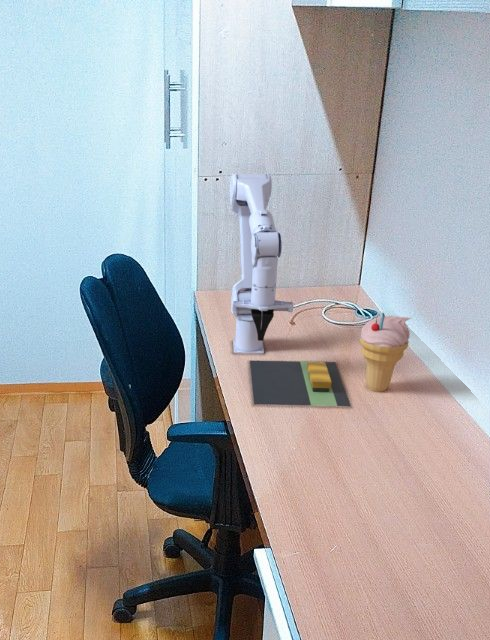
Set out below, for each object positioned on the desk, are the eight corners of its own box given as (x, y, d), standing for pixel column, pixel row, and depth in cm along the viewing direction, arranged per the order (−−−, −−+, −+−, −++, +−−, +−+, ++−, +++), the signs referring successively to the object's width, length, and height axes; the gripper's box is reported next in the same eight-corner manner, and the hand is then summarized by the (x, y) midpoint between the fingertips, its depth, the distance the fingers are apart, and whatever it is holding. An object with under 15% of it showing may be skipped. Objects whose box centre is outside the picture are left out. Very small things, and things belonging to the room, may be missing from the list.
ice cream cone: (401, 399, 170) (415, 316, 160) (353, 395, 172) (364, 312, 161) (399, 380, 179) (412, 301, 169) (353, 377, 181) (364, 297, 171)
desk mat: (249, 361, 189) (249, 360, 189) (334, 363, 189) (334, 362, 188) (254, 405, 167) (254, 404, 167) (350, 407, 166) (350, 406, 166)
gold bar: (306, 372, 183) (307, 361, 181) (324, 372, 183) (325, 362, 181) (311, 392, 172) (312, 381, 171) (330, 393, 172) (331, 382, 171)
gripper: (233, 289, 169) (231, 344, 176) (296, 290, 169) (291, 345, 176) (233, 280, 175) (230, 334, 182) (293, 281, 175) (289, 335, 182)
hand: (260, 339), depth 180 cm, fingers closed
